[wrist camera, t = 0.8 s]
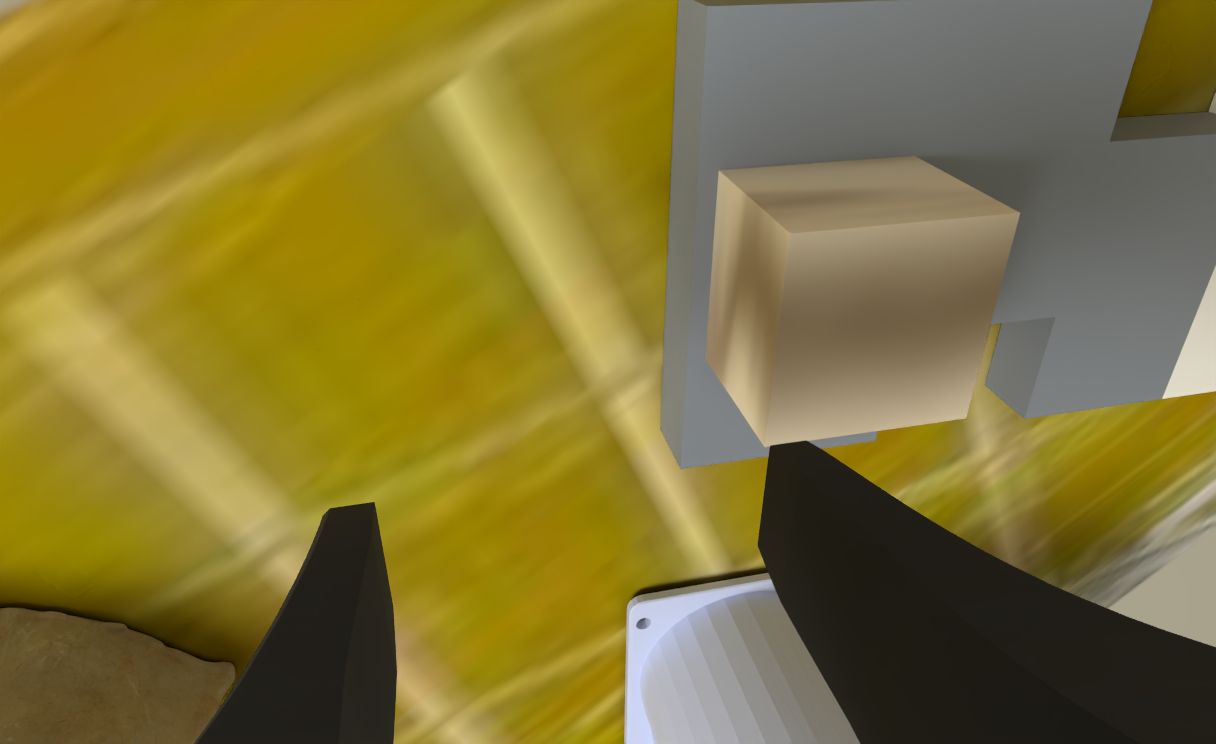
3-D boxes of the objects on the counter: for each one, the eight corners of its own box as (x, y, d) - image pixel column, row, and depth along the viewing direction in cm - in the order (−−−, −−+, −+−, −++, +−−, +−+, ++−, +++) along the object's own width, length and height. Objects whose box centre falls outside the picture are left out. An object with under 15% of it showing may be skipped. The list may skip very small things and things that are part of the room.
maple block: (879, 337, 23) (966, 418, 20) (705, 358, 22) (764, 447, 19) (914, 155, 20) (1020, 212, 17) (718, 170, 19) (789, 233, 16)
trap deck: (1284, 344, 30) (1415, 413, 26) (660, 429, 25) (710, 527, 22) (1461, -29, 24) (1664, -9, 20) (678, -7, 19) (752, 25, 15)
